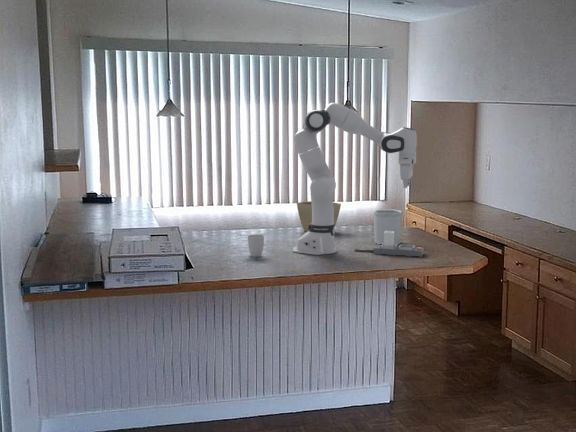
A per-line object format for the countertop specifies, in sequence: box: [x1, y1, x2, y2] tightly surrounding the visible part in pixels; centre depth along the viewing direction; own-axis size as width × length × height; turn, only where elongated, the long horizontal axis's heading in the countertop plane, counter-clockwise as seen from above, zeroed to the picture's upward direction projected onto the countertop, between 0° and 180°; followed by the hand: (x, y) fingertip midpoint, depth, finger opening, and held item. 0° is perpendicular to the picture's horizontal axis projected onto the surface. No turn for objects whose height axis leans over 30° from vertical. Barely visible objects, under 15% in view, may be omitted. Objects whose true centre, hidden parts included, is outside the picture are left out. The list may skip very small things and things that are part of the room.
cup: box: [247, 234, 265, 258], centre depth 352 cm, size 8×8×10 cm
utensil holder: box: [373, 208, 402, 245], centre depth 384 cm, size 15×15×18 cm
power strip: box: [354, 243, 425, 258], centre depth 360 cm, size 35×8×4 cm, turn 73°
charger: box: [384, 231, 394, 247], centre depth 359 cm, size 4×4×8 cm
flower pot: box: [296, 200, 342, 232], centre depth 418 cm, size 19×19×17 cm
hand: (406, 187), depth 360 cm, fingers open, 8 cm apart
